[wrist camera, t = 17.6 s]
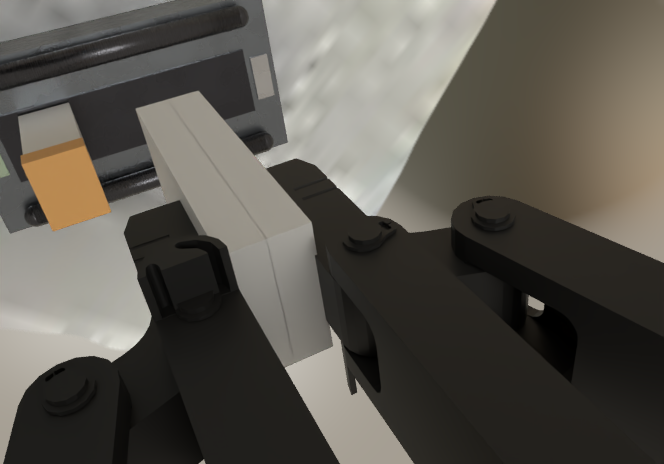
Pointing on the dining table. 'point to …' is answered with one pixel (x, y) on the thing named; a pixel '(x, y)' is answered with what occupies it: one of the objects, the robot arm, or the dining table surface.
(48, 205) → the switch knob
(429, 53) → the dining table surface
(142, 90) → the switch panel
